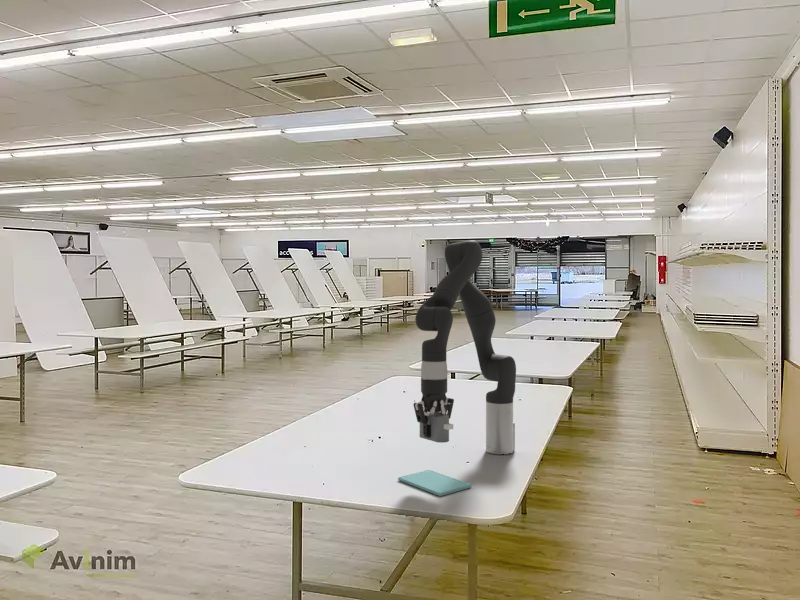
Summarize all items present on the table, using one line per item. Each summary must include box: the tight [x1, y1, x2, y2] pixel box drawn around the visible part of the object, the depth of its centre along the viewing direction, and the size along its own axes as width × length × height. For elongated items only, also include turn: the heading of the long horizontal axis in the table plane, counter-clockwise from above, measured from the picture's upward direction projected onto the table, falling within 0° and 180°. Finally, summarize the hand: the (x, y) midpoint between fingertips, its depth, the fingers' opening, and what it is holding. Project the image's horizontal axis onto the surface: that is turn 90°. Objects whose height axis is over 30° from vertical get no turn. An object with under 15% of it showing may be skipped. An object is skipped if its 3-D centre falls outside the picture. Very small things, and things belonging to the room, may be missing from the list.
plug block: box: [419, 411, 454, 444], centre depth 177 cm, size 4×12×7 cm, turn 39°
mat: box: [397, 469, 472, 497], centre depth 178 cm, size 12×18×1 cm, turn 39°
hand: (434, 435), depth 177 cm, fingers closed on plug block, 4 cm apart
